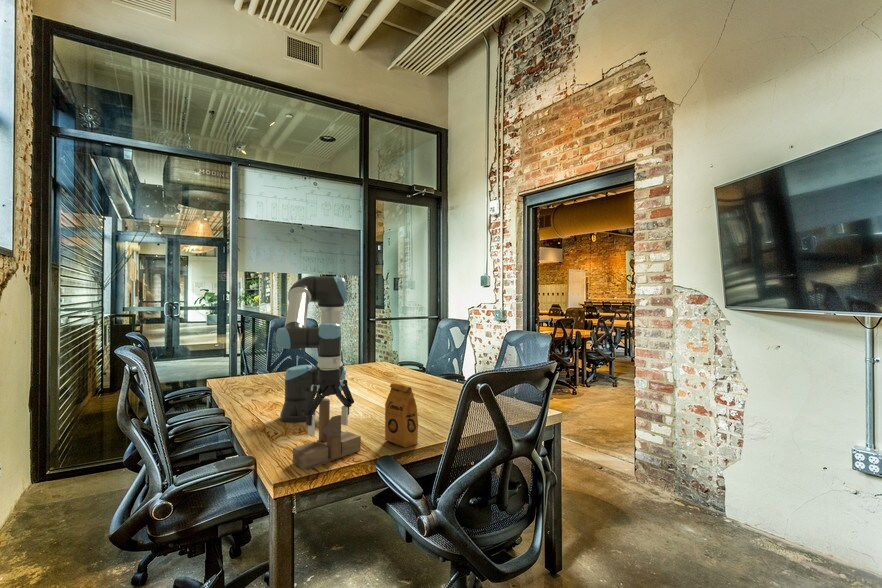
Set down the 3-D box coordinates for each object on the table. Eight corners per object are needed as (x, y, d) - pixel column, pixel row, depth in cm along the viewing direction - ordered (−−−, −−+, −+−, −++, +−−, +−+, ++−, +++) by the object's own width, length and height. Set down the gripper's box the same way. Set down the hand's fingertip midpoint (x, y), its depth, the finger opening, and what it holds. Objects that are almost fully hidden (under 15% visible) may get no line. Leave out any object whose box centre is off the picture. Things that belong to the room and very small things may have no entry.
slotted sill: (292, 463, 132) (292, 448, 132) (346, 444, 150) (346, 431, 150) (306, 469, 127) (306, 454, 127) (360, 450, 145) (360, 436, 145)
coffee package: (402, 450, 145) (402, 389, 145) (381, 441, 153) (381, 384, 154) (422, 443, 152) (423, 385, 152) (401, 435, 160) (401, 380, 161)
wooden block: (331, 459, 133) (332, 405, 134) (316, 450, 141) (316, 399, 141) (341, 456, 136) (341, 403, 136) (325, 447, 144) (326, 397, 144)
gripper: (303, 374, 127) (302, 441, 127) (364, 365, 146) (363, 423, 146) (290, 371, 131) (289, 436, 131) (351, 362, 151) (350, 419, 151)
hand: (328, 429), depth 139 cm, fingers open, 13 cm apart
